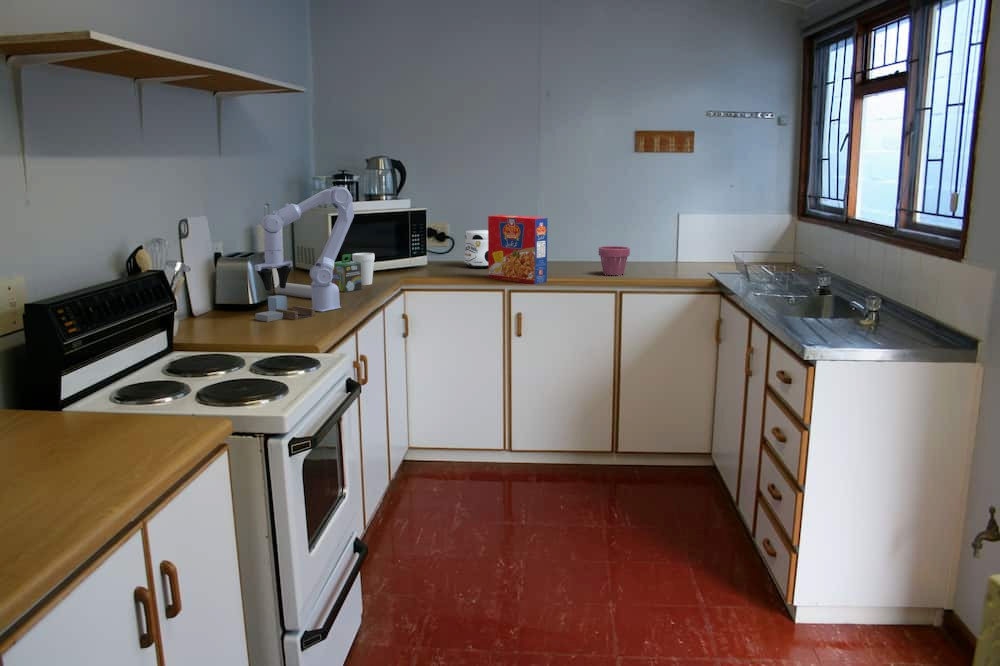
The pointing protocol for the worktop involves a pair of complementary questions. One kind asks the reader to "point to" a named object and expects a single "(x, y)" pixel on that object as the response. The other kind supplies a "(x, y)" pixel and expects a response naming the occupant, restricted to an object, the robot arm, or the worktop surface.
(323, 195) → the robot arm
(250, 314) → the worktop surface
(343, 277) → the chalk box
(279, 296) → the block
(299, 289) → the tube
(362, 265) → the foam cup
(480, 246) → the milk container
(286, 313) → the channel
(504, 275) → the pasta box
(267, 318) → the stand
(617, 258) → the plant pot
